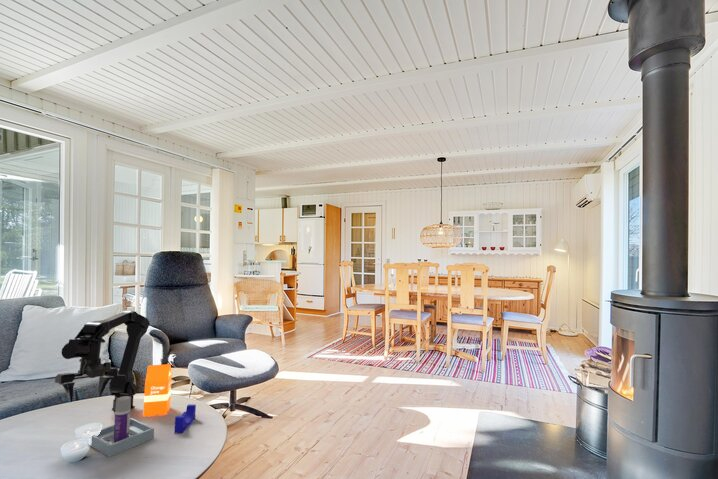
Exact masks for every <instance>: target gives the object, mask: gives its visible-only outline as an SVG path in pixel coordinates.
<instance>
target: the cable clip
mask: <svg viewBox="0 0 718 479" xmlns="http://www.w3.org/2000/svg"><path fill="white" fill-rule="evenodd" d="M196 407H197V405H196V404H193V403H192V404H191V403H189V404H187V405H186V409H185V410H186V411H184V412H182V413H181V415H176V416H175V417H174V434H183V433H184V432H185V431H186V430H187V429H188V428H189V427H190V425H191V424H192V423H193V422H194V421H195V420H196Z"/></svg>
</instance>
